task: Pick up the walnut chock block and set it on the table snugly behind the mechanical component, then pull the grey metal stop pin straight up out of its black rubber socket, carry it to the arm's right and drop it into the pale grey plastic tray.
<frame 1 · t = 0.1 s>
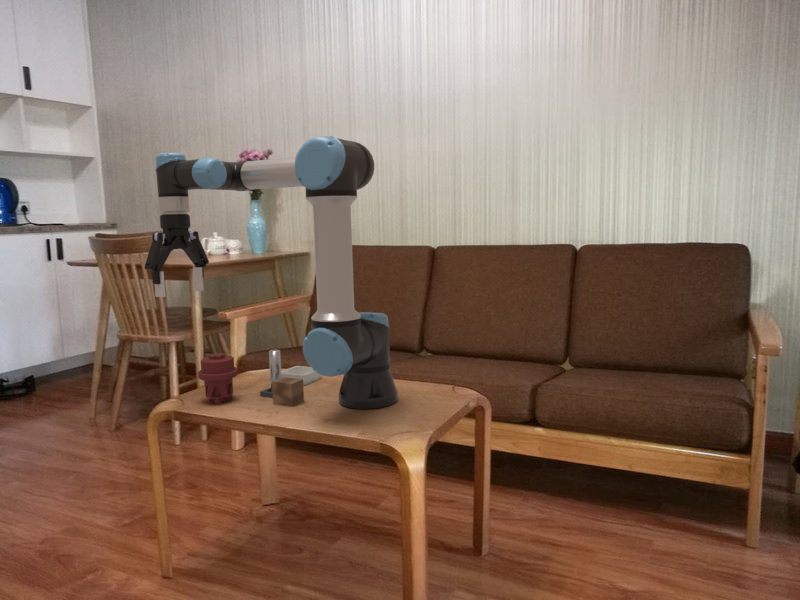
hand: (180, 293, 167), 28 cm above the table, fingers open, 13 cm apart
pin: (275, 372, 169), in the socket
tray: (300, 380, 184), on the table
chock: (288, 403, 161), on the table
socket: (276, 394, 170), on the table
mechanical component: (220, 401, 165), on the table
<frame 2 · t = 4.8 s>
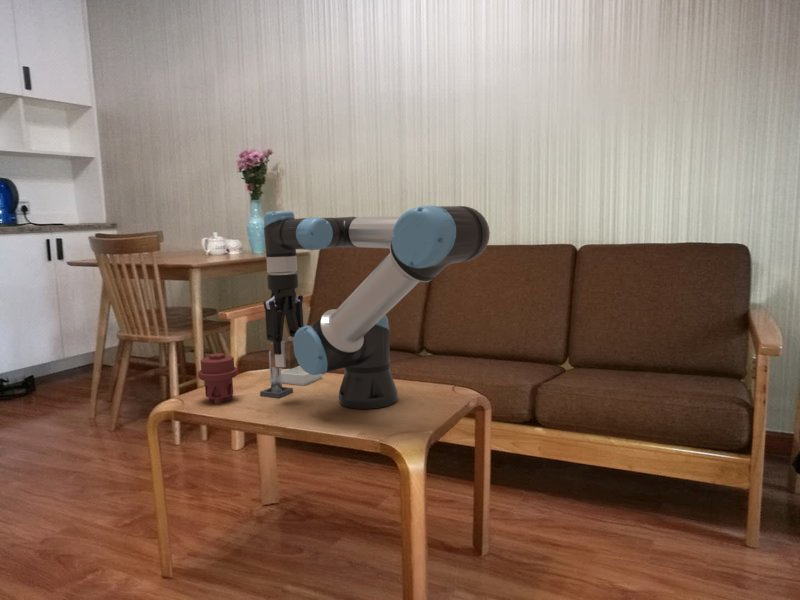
hand: (287, 364, 160), 10 cm above the table, fingers closed on chock, 5 cm apart
chock: (286, 366, 160), point 10 cm above the table, touching gripper
everything else where it was.
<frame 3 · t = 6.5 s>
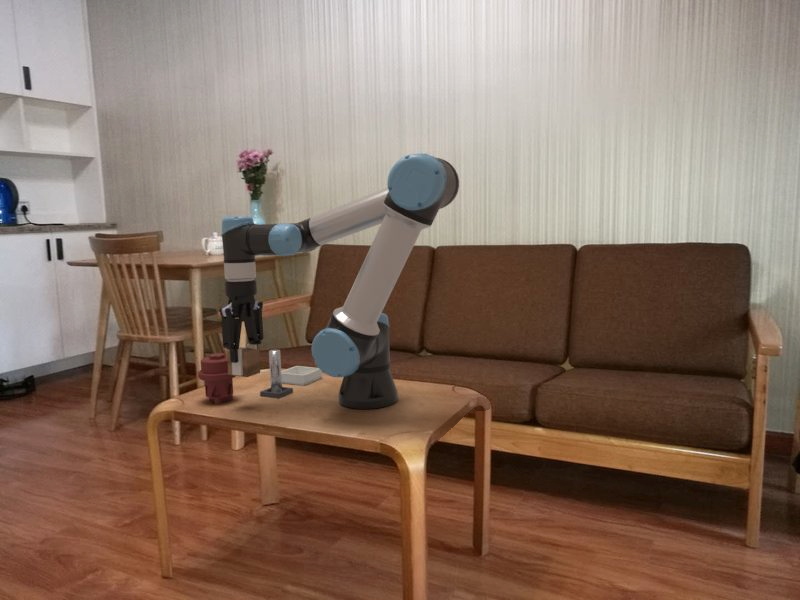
hand: (245, 372, 156), 9 cm above the table, fingers closed on chock, 5 cm apart
chock: (244, 373, 157), point 9 cm above the table, touching gripper
everything else where it was.
when the fingers open (0 cm above the table, at t = 8.4 s): chock stays where it is, on the table.
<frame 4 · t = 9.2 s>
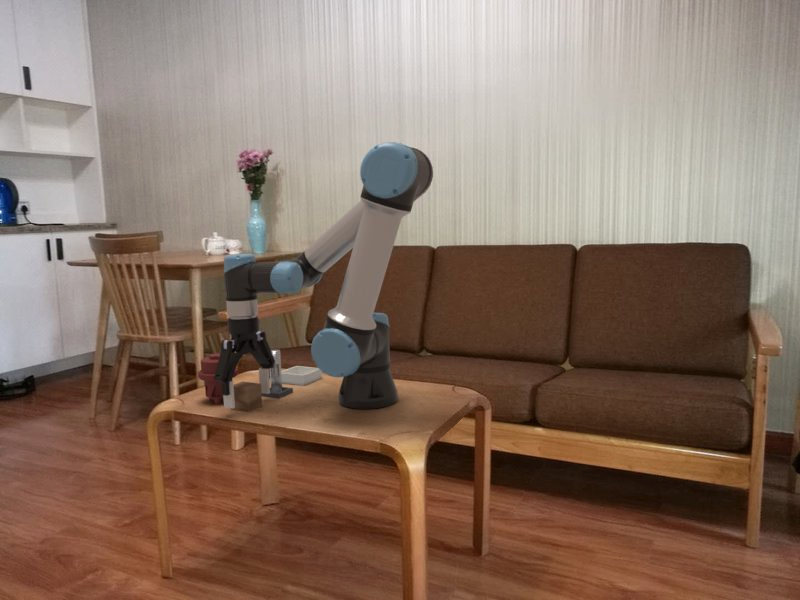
hand: (248, 400, 157), 2 cm above the table, fingers open, 13 cm apart
chock: (246, 408, 158), on the table
everything else where it was.
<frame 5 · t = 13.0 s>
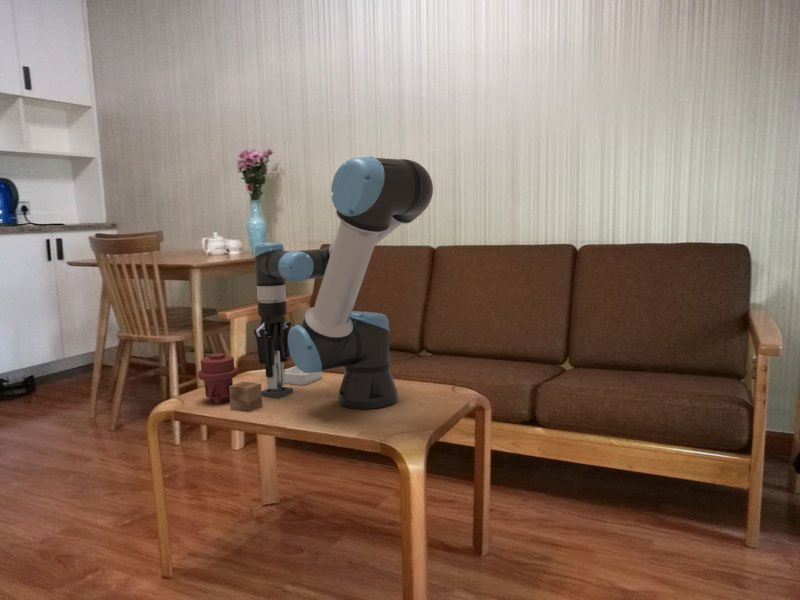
hand: (276, 386, 169), 2 cm above the table, fingers closed on pin, 3 cm apart
pin: (275, 372, 169), in the socket, touching gripper
everything else where it was.
when the fingers open (4 cm above the table, at t = 17.4 s): pin stays where it is, resting on tray.
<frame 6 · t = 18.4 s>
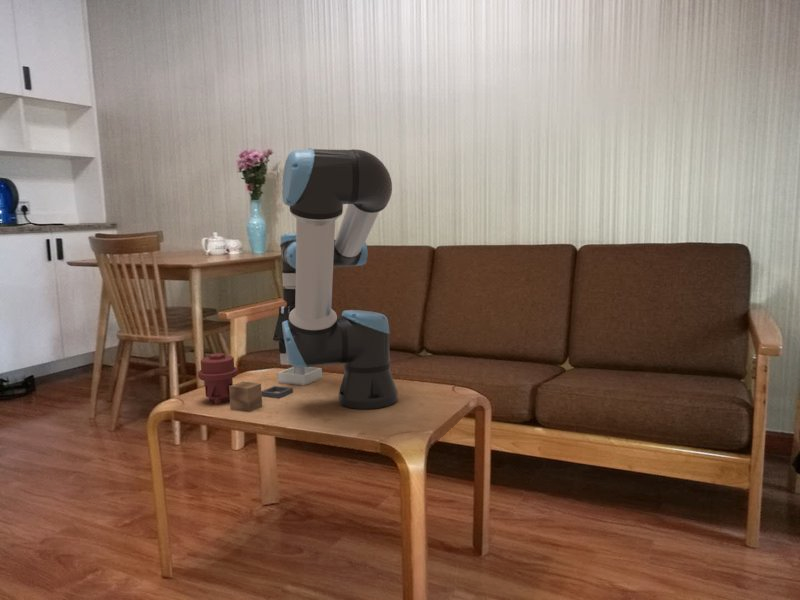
hand: (299, 359, 183), 6 cm above the table, fingers open, 13 cm apart
pin: (298, 358, 183), in the tray, point 7 cm above the table
everything else where it was.
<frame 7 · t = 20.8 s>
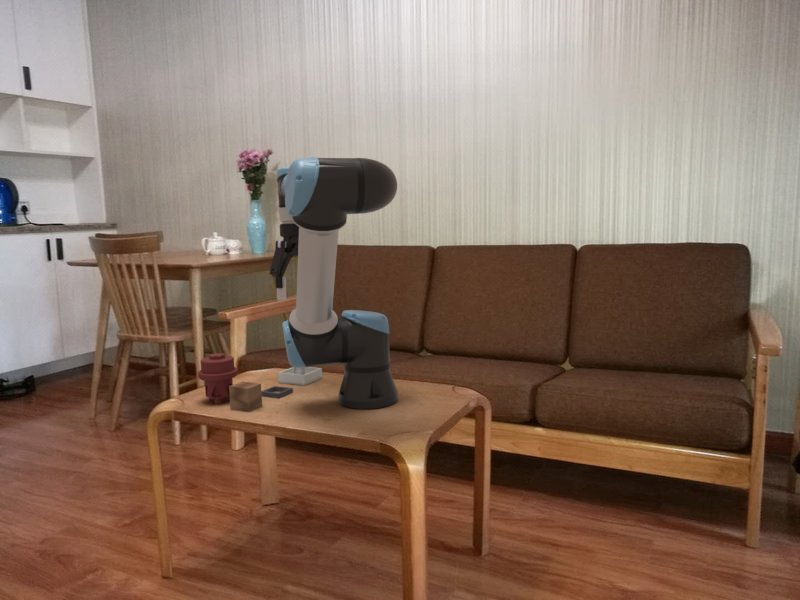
hand: (296, 297, 180), 25 cm above the table, fingers open, 13 cm apart
nothing on the table moved.
at the end: chock inside the target area on the table beside the mechanical component (0.8 cm from its centre), on the table; chock tilted 0°; pin inside the target area on the tray (0.2 cm from its centre), point 6.6 cm above the tray's base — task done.
